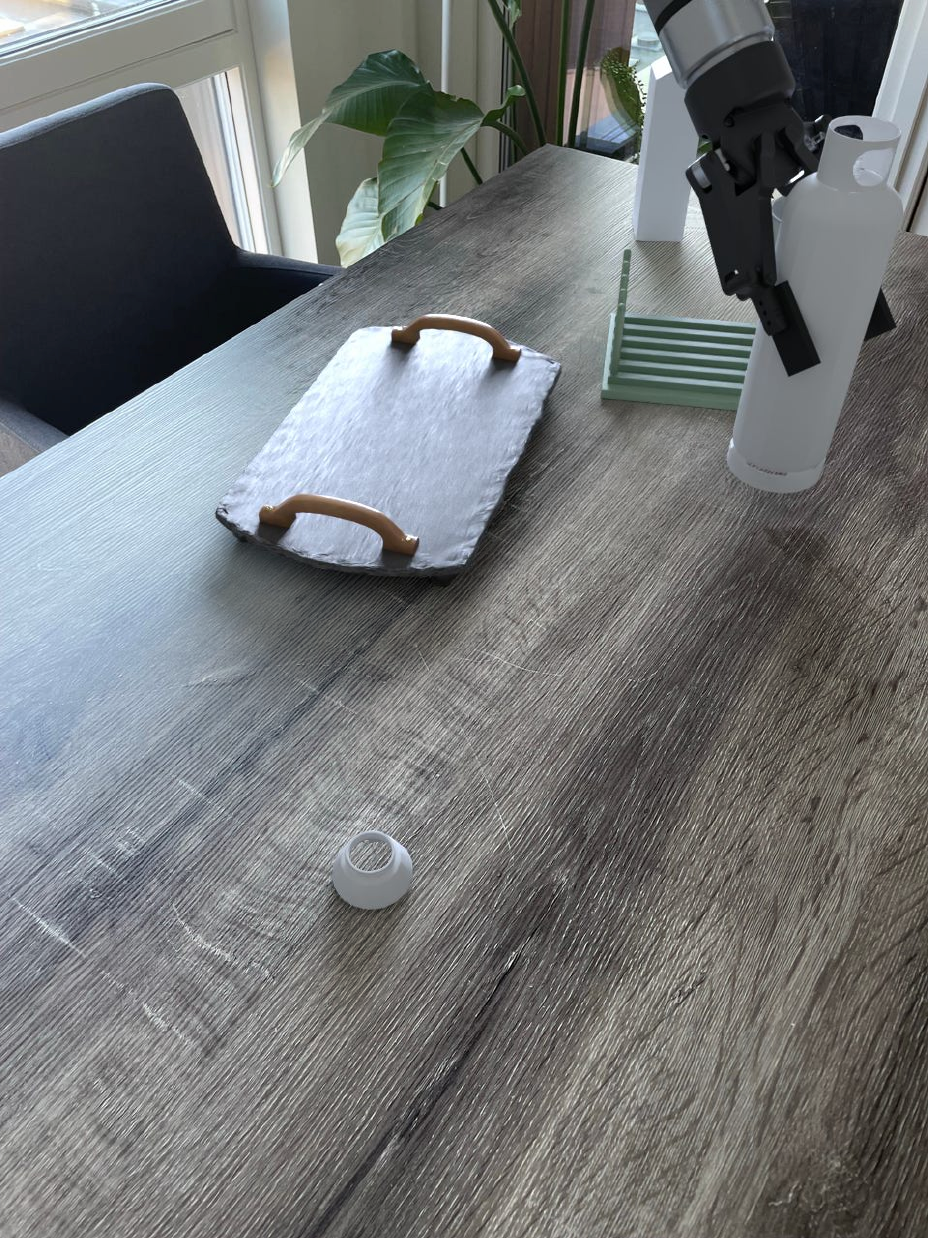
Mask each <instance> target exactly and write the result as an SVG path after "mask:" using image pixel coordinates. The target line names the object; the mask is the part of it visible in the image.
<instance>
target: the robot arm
mask: <svg viewBox="0 0 928 1238" xmlns="http://www.w3.org/2000/svg"><path fill="white" fill-rule="evenodd" d="M642 2H643V4H644V7H645V9H646V12H647V15H648V16H649V19H650V21H651V24H652V26H653V29H654V31H655V33H656V36H657V38H658V40H659V42H660V45H661V47H662V50H663V52H664V54H665V55H666V57H667V59H668V62H669V64H670V67H671V69H672V72H673V74H674V77H675V79H676V82H677V84H678V86H679V88H682V89H685V90H687V91H686V94H685V98H684V103H685V105H686V108H687V110H688V113H689V115H690V118H691V120H692V122H693V125H694V127H695V130H696V132H697V135H698V137H699V140H701V141H702V142H704V143H709V144H710V149H709V150H708V151H706V152H705V153H704V154H703V155H701V156H700V157H699V158H698V159H696V160H695V162H694V163H693V164H692V165H690V166H689V167H688V168H687V169H686V171H685V175H686V178H687V180H688V181H689V183H690V185H691V189H692V191H693V192H694V194H695V196H696V197H697V199H698V203H699V206H700V210H701V214H702V218H703V222H704V226H705V230H706V233H707V237H708V241H709V245H710V248H711V253H712V256H713V259H714V263H715V267H716V271H717V275H718V280H719V282H720V286H721V291H722V292H723V294H724V295H725V296H727V297H732V296H734V295H735V297H736V298H737V299H738V300H739V301H740V302H746V301H747V300H749V299H750V300H751V302H752V304H753V306H754V309H755V311H756V314H757V316H758V319H759V318H760V321H761V323H762V326H763V329H764V331H765V332H766V334H767V335H768V336H772V338H773V341H774V343H775V345H776V348H777V350H778V353H779V355H780V358H781V360H782V363H783V365H784V367H785V370H786V372H787V375H788V377H790V376H793V375H795V374H797V373H799V372H802V371H804V370H806V369H809V368H811V367H813V366H816V365H818V364H820V363H821V361H820V358H819V356H818V353H817V351H816V349H815V346H814V344H813V341H812V339H811V336H810V334H809V331H808V329H807V326H806V324H805V321H804V319H803V316H802V314H801V311H800V309H799V307H798V304H797V302H796V299H795V297H794V294H793V292H792V289H791V287H790V285H789V282H788V280H787V281H784V282H782V283H780V284H778V285H776V286H775V284H776V282H777V270H776V257H775V243H774V230H773V216H772V203H773V202H772V196H773V194H774V192H775V191H776V190H777V191H778V193H779V194H780V195H781V196H784V197H787V196H788V195H789V193H790V192H791V190H792V189H793V188H794V186H795V185H796V184H797V182H799V181H801V180H802V179H804V178H805V177H807V176H809V175H811V174H813V173H815V172H817V171H818V167H819V163H820V159H821V155H822V151H823V147H824V143H825V139H826V135H827V131H828V127H829V124H830V122H831V121H832V120H833V117H831V115H829V114H828V113H825V114H823V115H821V116H819V117H818V118H817V119H816V120H814V121H804V120H803V119H802V118H801V116H800V115H799V114H798V112H796V110H795V109H794V107H793V105H792V97H793V94H794V92H795V89H796V80H795V77H794V75H793V72H792V70H791V68H790V65H789V62H788V60H787V58H786V55H785V53H784V50H783V47H782V45H781V43H779V42H777V41H775V40H773V38H774V35H775V30H776V27H775V25H774V22H773V20H772V17H771V15H770V13H769V10H768V8H767V5H766V3H765V1H764V0H642ZM665 55H664V56H665ZM834 131H835V132H837V131H836V128H835V129H834ZM801 169H802V170H801ZM736 272H737V273H736ZM882 287H883V282H882V283H881V287H880V290H879V293H878V296H877V299H876V302H875V306H874V309H873V312H872V315H871V318H870V321H869V324H868V328H867V331H866V334H865V337H864V340H863V343H865V342H868V341H870V340H872V339H874V338H876V337H878V336H881V335H883V334H886V333H888V332H890V331H892V330H894V329H897V324H896V321H895V319H894V316H893V314H892V310H891V308H890V306H889V303H888V301H887V298H886V296H885V292H884V291H883V288H882Z"/></svg>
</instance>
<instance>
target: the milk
mask: <svg viewBox="0 0 928 1238" xmlns="http://www.w3.org/2000/svg"><path fill="white" fill-rule="evenodd" d="M649 70H650V72H649V79H648V85H647V86H648V88H647V95H646V103H645V110H644V119H643V126H642V134H641V144H640V149H639V150H640V152H639V159H638V166H637V173H636V183H635V191H634V199H633V206H632V214H631V224H632V223H633V225H632V229H634V230H633V234H634V239H635V240H634V241H636V240H640V241H639V242H672V243H673V242H674V243H675V242H677V243H682V242H683V239H684V233H685V226H686V220H687V215H688V207H689V203H690V197H691V191H692V190H691V189H692V187H691V185H690V183H689V181H688V180H687V178H686V175H685V171H686V169H687V168H688V167H689V166H690V165H692V164H693V163H694V162H695V161H697V154H698V148H699V141H700V138H699V137H698V135H697V132H696V130H695V127H694V125H693V122H692V120H691V118H690V115H689V113H688V110H687V108H686V105H685V103H684V98H685V94H686V91H687V90H685V89H682V88H679V86H678V84H677V82H676V79H675V77H674V74H673V72H672V69H671V67H670V64H669V62H668V59H667V57H666V55H664V56H661V57H660V58H659V59H657V60H655V61H653V62H652V63H651V64H650V69H649Z"/></svg>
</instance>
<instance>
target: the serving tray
mask: <svg viewBox="0 0 928 1238" xmlns="http://www.w3.org/2000/svg"><path fill="white" fill-rule="evenodd" d="M562 371H563V366H562V364H561V363H560V362H559V361H558V360H556V359H555V358H554V357H551V356H550V355H548V354H544V353H541V352H538V351H536V350H534V349H532V348H530V347H528V346H526V345H523V344H520V343H516V342H514V341H511V340H508V339H506V338H505V337H504V336H503V335H502V334H501V333H500V332H499V331H498V330H497V329H496V328H494V327H493V326H491V325H490V324H488V323H485V322H483V321H479V320H477V319H473V318H469V317H464V316H459V315H454V314H453V315H452V314H443V313H430V314H429V313H427V314H423V315H421V316H419V317H417V318H415V319H414V320H413V321H411V322H410V323H409V324H408V325H395V326H394V325H393V326H379V325H376V326H375V325H374V326H368V327H363V328H358V329H356V330H355V331H353V332H352V333H351V334H350V336H349V337H348V339H347V340H346V341H345V342H344V343H343V344H342V345H341V347H339V349H338V350H337V352H335V354H334V356H333V357H332V358H331V360H330V361H329V362H328V363H327V364H326V365H325V367H324V368H323V370H322V371H321V372H320V373H319V374H318V376H317V377H316V380H315V381H314V382H313V383H312V384H310V385H311V386H309V388H308V389H307V390H306V391H305V392H304V393H303V394H302V396H301V397H300V398H299V400H298V402H297V403H296V404H295V405H294V406H293V407H292V408H291V409H290V411H289V413H288V415H287V416H285V417H284V418H283V420H282V421H281V423H280V425H279V426H278V427H277V429H275V431H274V432H272V434H271V436H270V437H269V438H268V441H266V443H264V445H263V446H262V448H261V449H260V450H259V451H258V453H257V454H256V455H255V456H254V457H253V458H252V459H251V461H250V462H249V464H248V465H247V467H245V469H244V470H243V472H242V473H241V475H239V476H238V478H237V479H236V480H235V481H234V482H233V484H232V486H231V488H230V489H229V490H228V491H227V492H226V493H225V495H224V496H223V497H222V498H221V499H220V501H219V503H218V505H217V508H216V510H215V513H214V517H215V519H216V520H217V521H218V522H219V523H220V524H221V525H222V526H223V527H224V528H226V529H227V530H228V531H230V533H231V535H232V536H233V537H234V538H235V539H236V540H237V541H238V542H240V543H250V544H252V545H254V546H256V547H258V548H260V549H262V550H264V551H266V552H268V553H271V554H275V555H280V556H282V557H285V558H287V559H289V560H292V561H295V562H299V563H302V564H304V565H307V566H309V567H314V568H317V569H321V570H325V571H332V572H340V573H346V574H360V575H368V576H369V575H370V576H377V577H384V578H408V577H415V578H421V579H422V578H426V577H429V578H430V579H431V580H432V582H433V583H434V585H435V586H437V587H439V588H446V587H449V586H451V584H452V583H453V581H454V580H455V578H456V574H459V573H463V572H464V571H467V570H468V568H469V567H470V566H471V565H472V563H473V561H474V559H475V558H476V555H477V554H478V551H479V548H480V546H481V544H482V542H483V540H484V538H485V536H486V534H487V532H488V530H489V528H490V525H491V524H492V521H493V519H494V517H495V515H496V514H497V512H498V510H499V508H500V507H501V506H502V505H503V502H504V499H505V494H506V491H507V488H508V485H509V482H510V479H512V477H513V475H515V473H516V471H517V470H518V469H519V467H520V465H521V463H522V461H523V460H524V459H525V458H526V457H525V456H526V452H527V448H528V446H529V444H530V442H531V439H532V436H533V434H534V432H536V430H537V429H538V426H539V425H540V424H541V423H542V422H543V418H544V411H545V405H547V404H548V402H549V401H550V397H551V395H552V394H553V392H554V390H555V387H556V385H557V384H558V381H559V380H560V377H561V374H562Z"/></svg>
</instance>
